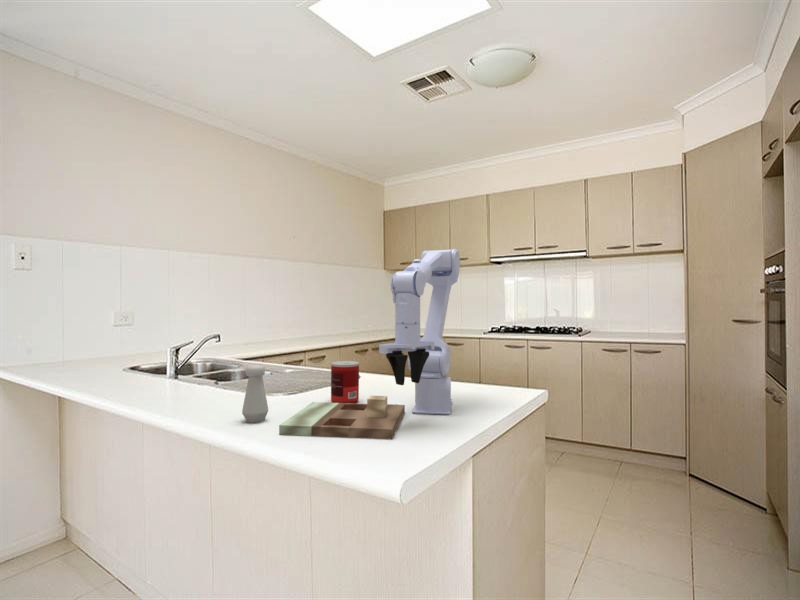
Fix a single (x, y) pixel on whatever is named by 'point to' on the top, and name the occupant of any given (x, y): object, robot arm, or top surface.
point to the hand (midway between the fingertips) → (407, 383)
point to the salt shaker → (255, 395)
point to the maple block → (377, 406)
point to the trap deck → (342, 421)
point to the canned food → (344, 382)
